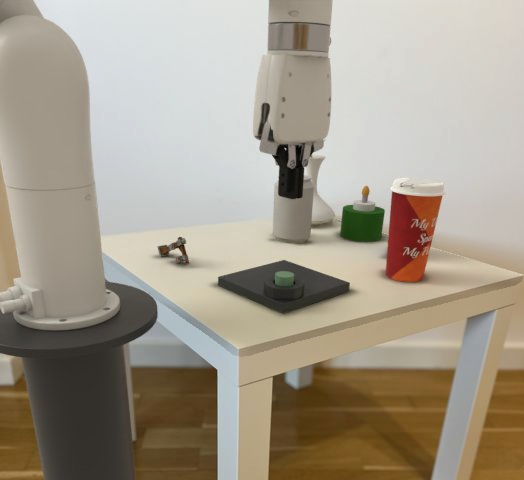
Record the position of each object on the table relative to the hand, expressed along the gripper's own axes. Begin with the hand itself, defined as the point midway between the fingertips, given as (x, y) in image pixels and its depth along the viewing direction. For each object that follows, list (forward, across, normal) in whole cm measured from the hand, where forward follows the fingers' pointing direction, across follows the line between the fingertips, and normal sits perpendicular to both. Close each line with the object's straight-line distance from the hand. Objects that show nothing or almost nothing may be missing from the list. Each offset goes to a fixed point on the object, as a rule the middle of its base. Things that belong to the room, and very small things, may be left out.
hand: (290, 196), depth 75 cm
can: (+14, -22, -21) cm, 33 cm away
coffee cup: (+14, -21, +6) cm, 26 cm away
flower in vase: (+14, -34, -29) cm, 47 cm away
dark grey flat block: (+14, -1, -1) cm, 14 cm away
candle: (+14, -35, -14) cm, 40 cm away
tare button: (+11, +3, +3) cm, 12 cm away
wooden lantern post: (+14, +4, -22) cm, 27 cm away
